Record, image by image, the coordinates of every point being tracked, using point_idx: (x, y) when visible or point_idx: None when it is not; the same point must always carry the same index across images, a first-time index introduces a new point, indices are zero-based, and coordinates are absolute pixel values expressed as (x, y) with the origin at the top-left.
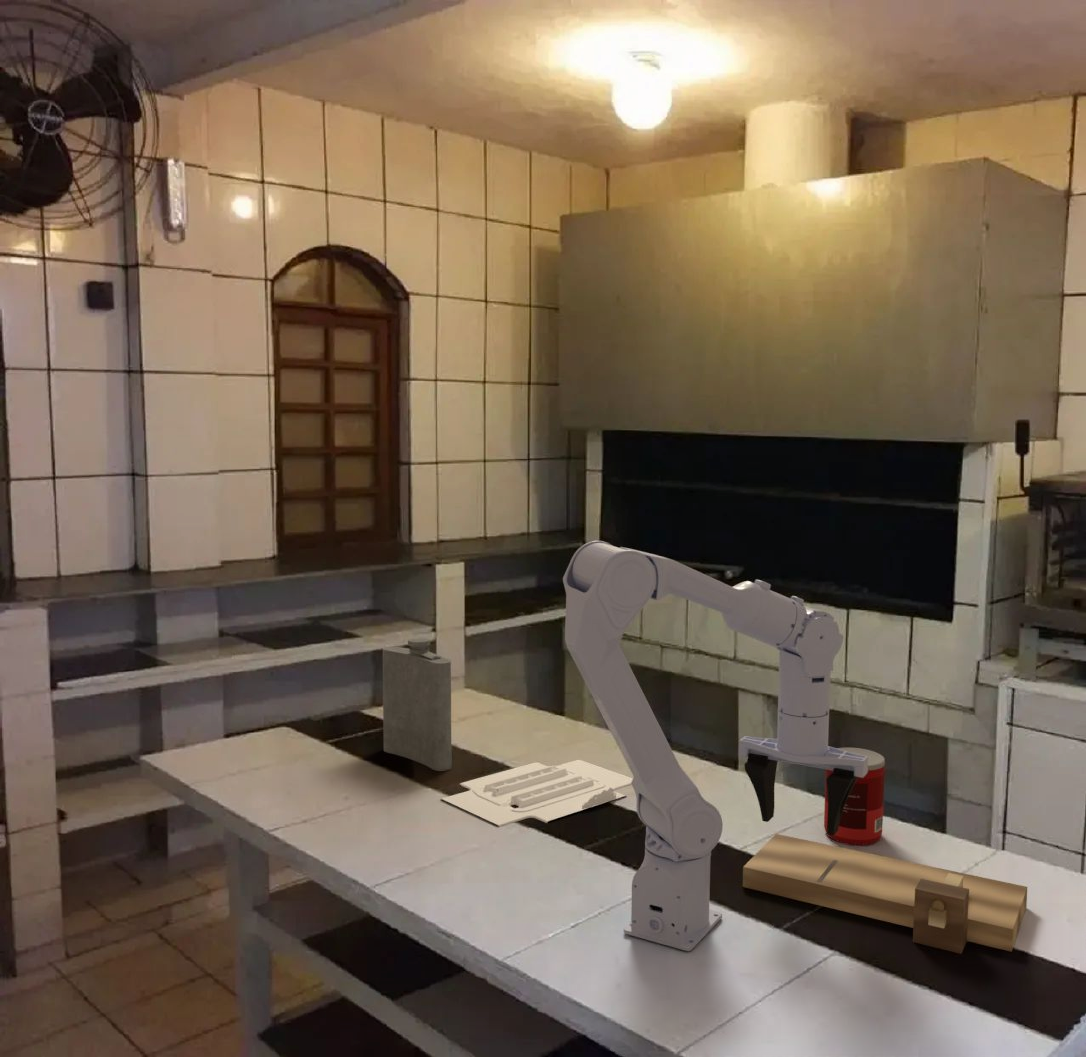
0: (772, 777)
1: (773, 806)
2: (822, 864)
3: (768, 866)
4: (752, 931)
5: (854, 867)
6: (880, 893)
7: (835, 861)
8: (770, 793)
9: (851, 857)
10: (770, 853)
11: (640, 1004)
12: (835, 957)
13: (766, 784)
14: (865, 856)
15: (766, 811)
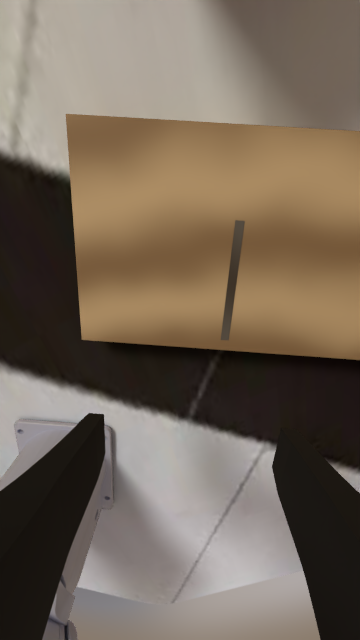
0: (34, 554)
1: (92, 437)
2: (216, 256)
3: (121, 317)
4: (158, 438)
5: (284, 240)
6: (338, 338)
7: (240, 227)
8: (69, 502)
9: (272, 183)
10: (101, 253)
11: (115, 575)
12: (267, 455)
13: (48, 591)
14: (305, 156)
15: (93, 489)
